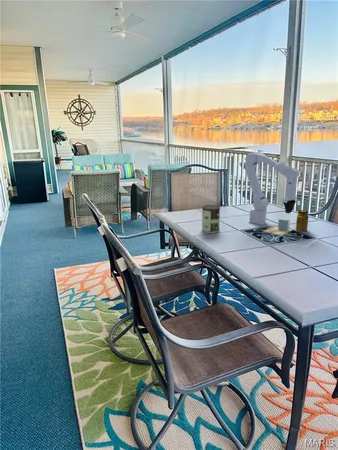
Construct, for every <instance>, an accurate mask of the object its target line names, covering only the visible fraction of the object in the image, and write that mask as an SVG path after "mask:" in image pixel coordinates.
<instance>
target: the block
mask: <svg viewBox="0 0 338 450" xmlns="http://www.w3.org/2000/svg"><path fill="white" fill-rule="evenodd" d="M290 222H291V219H287V218H278V223H277V227H278V229H283V230H289V229H290V224H291V223H290Z"/></svg>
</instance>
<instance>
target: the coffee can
mask: <svg viewBox="0 0 338 450" xmlns="http://www.w3.org/2000/svg"><path fill="white" fill-rule="evenodd" d="M201 208H202V214H201V217H202V219H201V231H202V232H204V233H207V234H208V233H209V234H215V233H218V232H219V231H220V216H221V214H220V212H221V207H220V206H218V205H216V204H215V205H213V204H211V205H210V204H209V205H208V204H207V205H203V206H202V207H201Z"/></svg>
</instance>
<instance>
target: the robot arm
mask: <svg viewBox="0 0 338 450" xmlns="http://www.w3.org/2000/svg"><path fill="white" fill-rule="evenodd" d="M244 160H245V162H244V163H245V165H244V170H245V174H246V177H247V179H248V182H249V185H250V189H251V192H252V195H253V197H252V206H253V207H252V208H251V209H250V212H249V221H248V223H250V224H258V225H265V224H267V223H268V221H267V207H268V206H269V200H268V198H267V197H266V194H264V192H263V191H262V187H261V185H260V182H259V179H258V176H257V172H256V170H255V168H256V167H257V165H258V164H259V163H264V164H265V165H268V166H270V167H272V168H274V170H275V172H277V173H279V174H280V175H282V176H284V177H285V179H286V182H285V191H284V192H285V193H284V197H283V200H282V203H283V206H284V210H285V214H290V213H291V214H292V211H293V209H294V206H295V205H296V203H297V200H298V197H297V193H296V192H297V186H298V185H297V184H298V177H299V176H300V171H299V170H298V169H297V168H296V167H292V166H289V165H287V164H286V162H284V161H282V162H281V161H279V162H277V161H276V160H274V159H272V158H270V157H269V156H267V155H266V154H265V153H262V152H260V151H255V152H249V153H247V155H246V156H245V157H244Z"/></svg>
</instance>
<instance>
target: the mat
mask: <svg viewBox="0 0 338 450" xmlns="http://www.w3.org/2000/svg"><path fill="white" fill-rule="evenodd" d="M291 231H293V229H292V228H289V230H283V229H278V225H272V226H270V227H268V228H266V229H263V232H264V233H270V234H273V235H279V236H284V235H287V233H289V232H291Z"/></svg>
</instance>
